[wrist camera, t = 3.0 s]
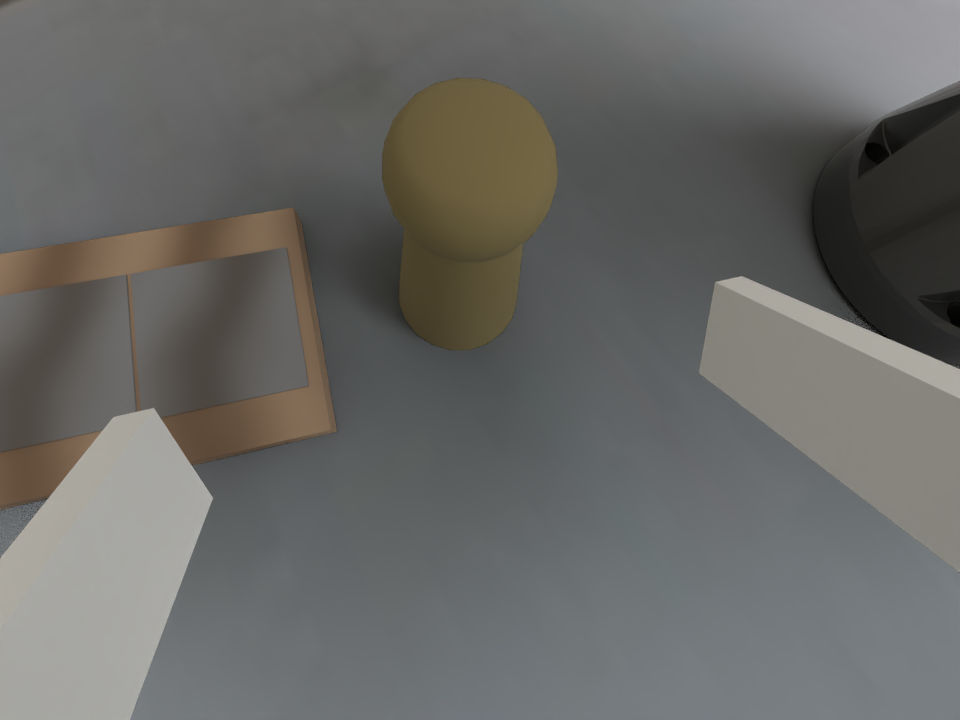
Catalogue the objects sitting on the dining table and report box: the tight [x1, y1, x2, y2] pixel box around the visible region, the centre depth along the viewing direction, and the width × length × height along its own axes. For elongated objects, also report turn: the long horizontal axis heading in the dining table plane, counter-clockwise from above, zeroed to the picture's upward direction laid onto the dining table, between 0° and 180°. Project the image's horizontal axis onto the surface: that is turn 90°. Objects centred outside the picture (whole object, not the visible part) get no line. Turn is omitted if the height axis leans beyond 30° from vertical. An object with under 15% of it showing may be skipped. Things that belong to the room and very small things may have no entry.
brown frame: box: [0, 208, 337, 510], centre depth 19 cm, size 22×11×1 cm, turn 104°
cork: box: [382, 78, 558, 350], centre depth 17 cm, size 6×6×11 cm
